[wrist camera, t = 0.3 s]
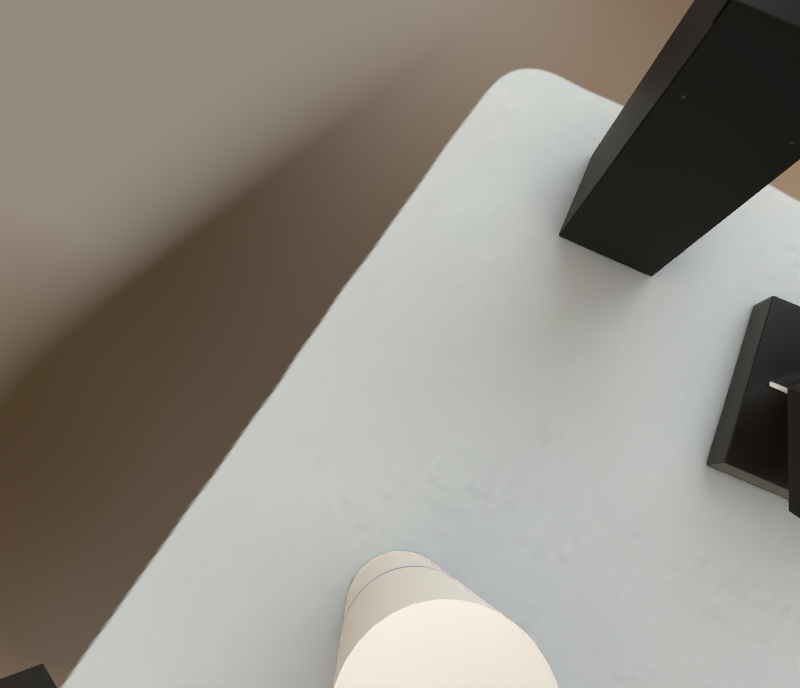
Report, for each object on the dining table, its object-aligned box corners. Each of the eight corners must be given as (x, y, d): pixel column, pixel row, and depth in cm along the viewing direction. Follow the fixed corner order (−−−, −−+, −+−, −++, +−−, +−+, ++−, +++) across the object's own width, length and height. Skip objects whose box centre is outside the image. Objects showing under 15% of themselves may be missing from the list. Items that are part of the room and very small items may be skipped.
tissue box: (651, 278, 51) (986, 16, 24) (556, 236, 51) (778, -69, 24) (683, 193, 53) (1026, -141, 26) (591, 153, 53) (834, -218, 26)
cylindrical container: (394, 527, 45) (432, 549, 21) (475, 600, 45) (611, 708, 20) (323, 613, 44) (276, 743, 20) (405, 690, 43) (463, 923, 19)
